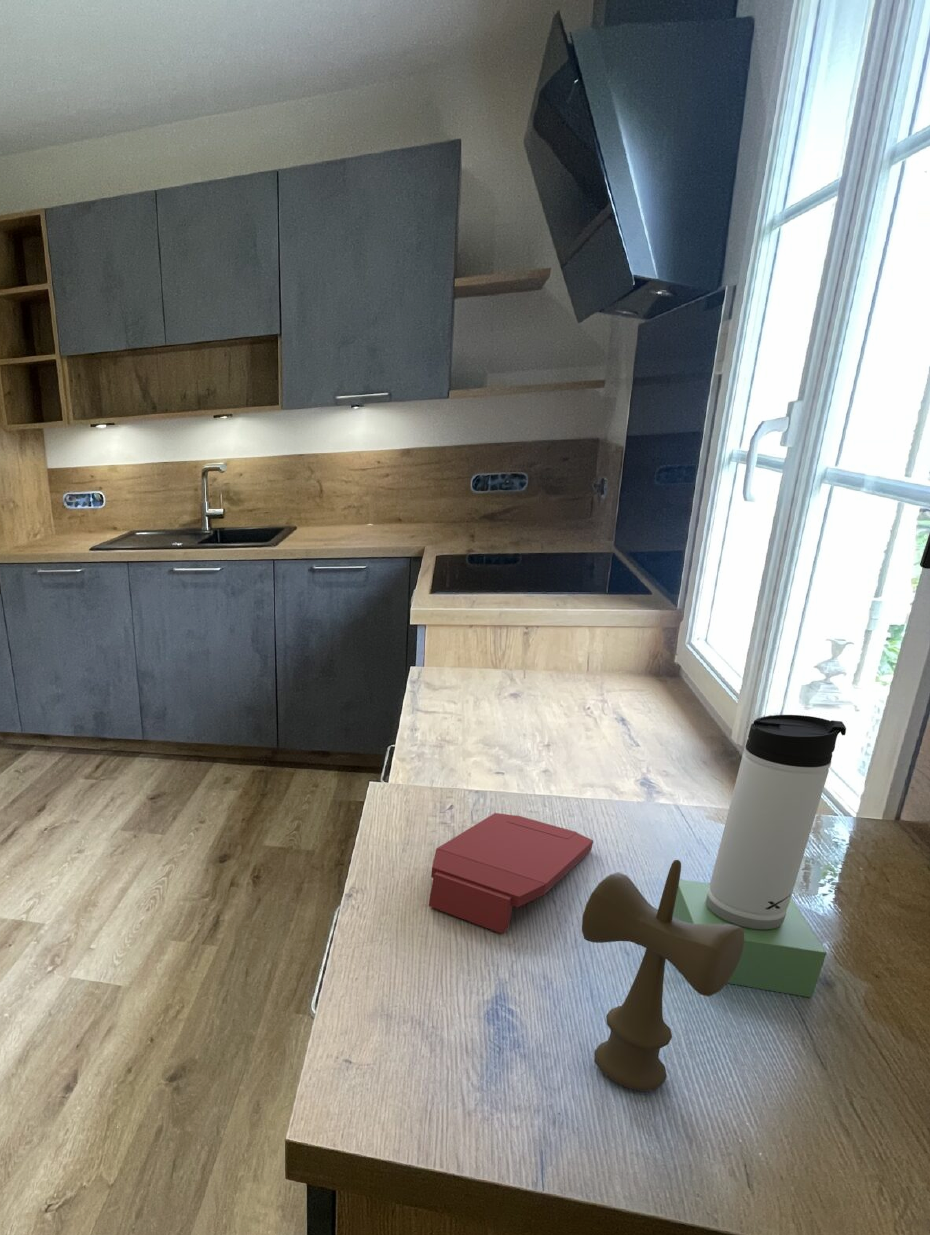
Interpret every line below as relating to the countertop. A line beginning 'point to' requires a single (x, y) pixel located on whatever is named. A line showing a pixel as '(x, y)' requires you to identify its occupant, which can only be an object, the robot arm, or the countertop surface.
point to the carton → (502, 867)
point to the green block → (763, 946)
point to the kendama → (653, 971)
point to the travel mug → (771, 818)
